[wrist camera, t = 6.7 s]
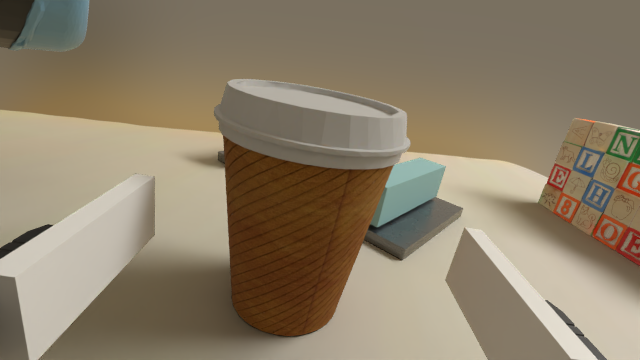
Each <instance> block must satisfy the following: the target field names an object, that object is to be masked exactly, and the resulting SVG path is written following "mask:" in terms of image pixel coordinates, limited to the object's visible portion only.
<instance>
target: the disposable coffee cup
mask: <svg viewBox="0 0 640 360" xmlns="http://www.w3.org/2000/svg"><path fill="white" fill-rule="evenodd" d="M214 116H215V117H216V119H217V120H218V121H219V130H220V131H221V133H222V135H223V139H224V157H225V174H226V175H225V177H226V194H227V214H228V233H229V249H230V250H229V251H230V268H231V287H232V302H233V306H234V308H235V309H236V311H237V313H238V314H239V315H240V316H241V317H242V318H243V320H244V321H246V322H247V323H249V324H250V325H252V326H253V327H255V328H257V329H259V330H261V331H264V332H268V333H272V334H276V335H283V336H297V335H302V334H307V333H311V332H313V331H316V330H318V329H320V328H321V327H323V326H324V325H326V324H327V323H328V322H329V320H330V319H331V318H332V316H333V314H334V312H335V310H336V307H337V305H338V302H339V299H340V297H341V295H342V292H343V289H344V287H345V285H346V282H347V280H348V277H349V275H350V272H351V270H352V267H353V265H354V262H355V260H356V258H357V255H358V253H359V250H360V248H361V245H362V243H363V240H364V237H365V235H366V232H367V230H368V227H369V225H370V223H371V221H372V218H373V216H374V213H375V211H376V208H377V205H378V203H379V201H380V198H381V195H382V193H383V191H384V188H385V185H386V183H387V181H388V178H389V176H390V173H391V171H392V169H393V166H394V164H396V163H398V162H399V160H400V157H401V154H402V153H404V152H406V151H407V150H408V148H409V147H410V141H409V139H408V138H407V137H406V128H407V114H406V112H404V111H403V110H401V109H398V108H396V107H394V106H391V105H388V104H385V103H382V102H378V101H375V100H372V99H368V98H364V97H359V96H356V95H351V94H347V93H343V92H337V91H332V90H328V89H323V88H317V87H311V86H306V85H299V84H292V83H285V82H276V81H267V80H253V79H236V80H231V81H229V82H228V83H227V85H226V88H225V91H224V95H223V98H222V101H221V104H219V105H217V106H216V107H215V109H214Z"/></svg>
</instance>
